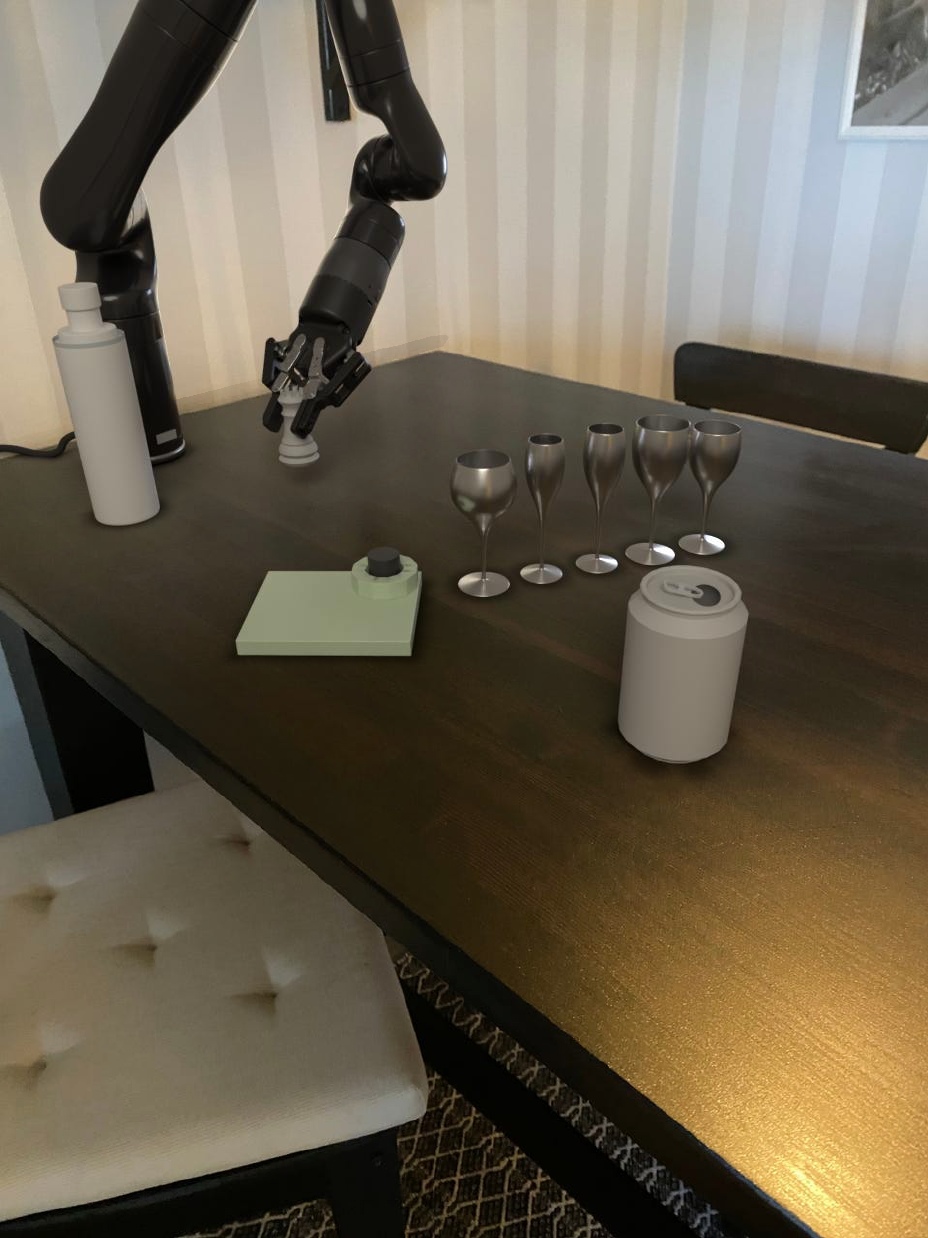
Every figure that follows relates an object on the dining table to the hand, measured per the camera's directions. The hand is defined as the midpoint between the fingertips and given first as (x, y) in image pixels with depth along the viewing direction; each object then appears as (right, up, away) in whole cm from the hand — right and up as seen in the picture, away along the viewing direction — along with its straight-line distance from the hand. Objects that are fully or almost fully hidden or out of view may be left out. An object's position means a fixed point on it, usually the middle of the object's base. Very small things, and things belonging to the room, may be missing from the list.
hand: (283, 431), depth 97 cm
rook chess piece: (+1, -3, +4) cm, 5 cm away
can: (+34, -28, -34) cm, 56 cm away
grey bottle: (-17, -9, +1) cm, 19 cm away
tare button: (+12, -16, -18) cm, 27 cm away
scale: (+8, -20, -19) cm, 29 cm away
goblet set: (+32, -15, -11) cm, 37 cm away
